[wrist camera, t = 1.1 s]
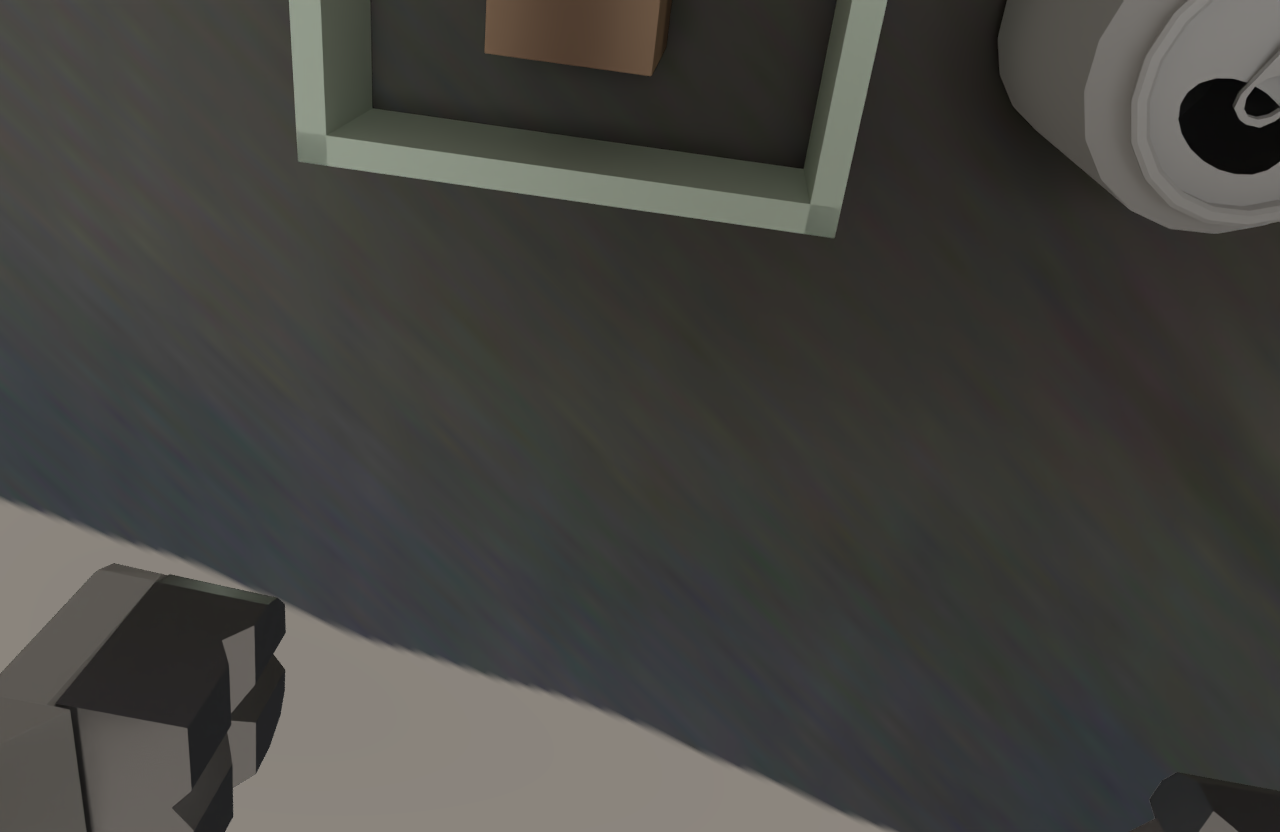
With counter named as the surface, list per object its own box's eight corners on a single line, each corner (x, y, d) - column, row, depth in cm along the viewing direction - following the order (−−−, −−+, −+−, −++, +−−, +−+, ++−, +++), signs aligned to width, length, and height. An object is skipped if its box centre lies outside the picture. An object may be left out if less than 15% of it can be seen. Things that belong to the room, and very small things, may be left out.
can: (944, 63, 33) (1034, 144, 23) (1106, -153, 30) (1301, -174, 19) (1110, 183, 35) (1267, 312, 24) (1284, -11, 31) (1555, 41, 21)
